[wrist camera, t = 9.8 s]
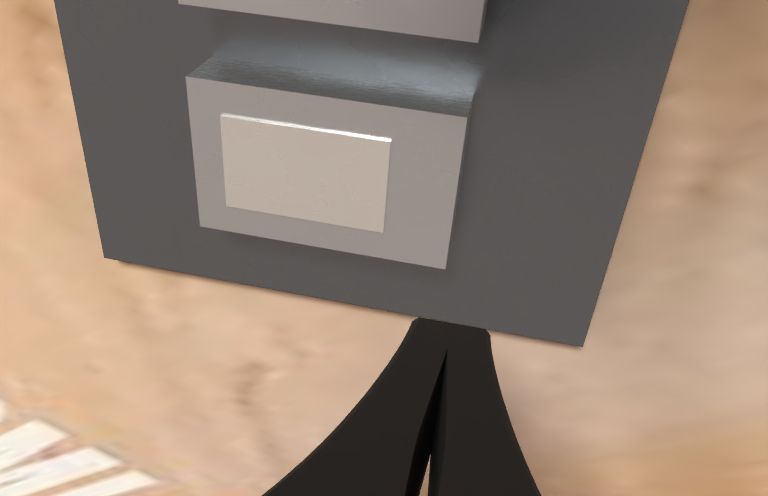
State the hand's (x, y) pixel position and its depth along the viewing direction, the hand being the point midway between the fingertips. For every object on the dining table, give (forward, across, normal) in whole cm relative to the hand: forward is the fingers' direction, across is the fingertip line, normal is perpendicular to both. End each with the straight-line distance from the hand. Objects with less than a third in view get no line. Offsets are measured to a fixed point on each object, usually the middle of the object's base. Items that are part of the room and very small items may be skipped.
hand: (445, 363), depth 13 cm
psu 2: (+10, +4, +1) cm, 11 cm away
